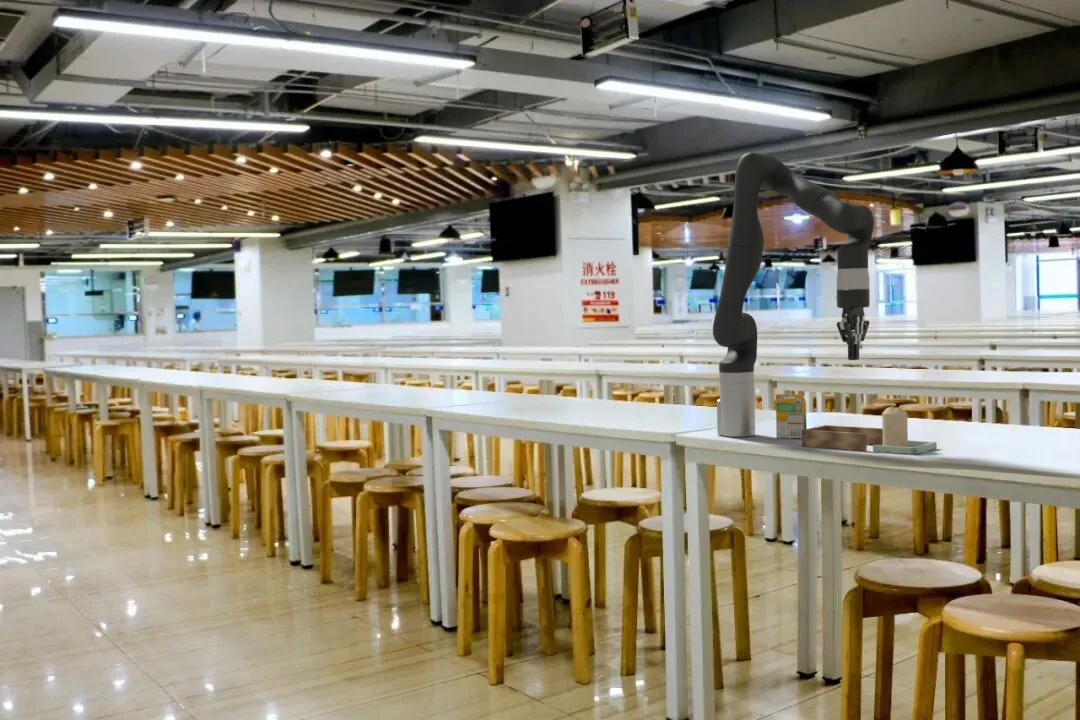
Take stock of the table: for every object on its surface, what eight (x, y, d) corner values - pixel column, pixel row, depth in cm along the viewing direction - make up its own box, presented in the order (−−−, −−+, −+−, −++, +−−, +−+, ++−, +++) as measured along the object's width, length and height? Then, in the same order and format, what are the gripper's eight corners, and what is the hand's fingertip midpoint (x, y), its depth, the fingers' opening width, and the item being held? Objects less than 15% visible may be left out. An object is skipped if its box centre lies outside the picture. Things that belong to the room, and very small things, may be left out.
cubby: (802, 446, 236) (801, 430, 236) (825, 440, 245) (825, 425, 244) (864, 451, 225) (864, 434, 225) (886, 445, 234) (886, 428, 233)
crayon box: (807, 437, 252) (806, 393, 251) (804, 439, 249) (803, 394, 249) (779, 437, 255) (778, 393, 255) (776, 438, 253) (775, 394, 252)
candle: (912, 449, 225) (912, 406, 225) (896, 451, 223) (895, 408, 222) (894, 447, 230) (893, 405, 230) (877, 449, 227) (877, 407, 227)
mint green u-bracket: (873, 451, 224) (872, 445, 223) (894, 445, 232) (894, 439, 232) (915, 454, 217) (915, 448, 217) (936, 448, 225) (936, 442, 225)
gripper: (850, 288, 239) (851, 358, 240) (825, 288, 229) (826, 361, 230) (880, 287, 234) (880, 358, 234) (855, 287, 224) (855, 361, 225)
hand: (853, 359), depth 232 cm, fingers closed
